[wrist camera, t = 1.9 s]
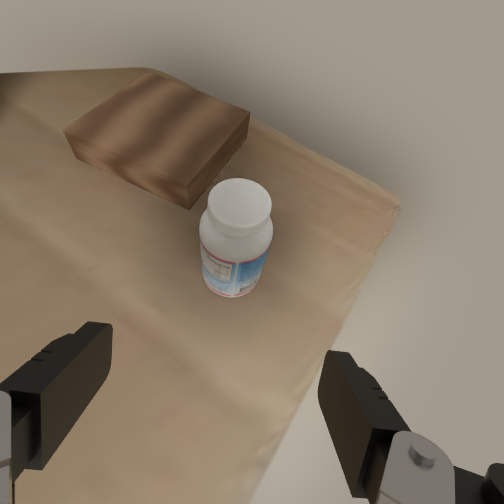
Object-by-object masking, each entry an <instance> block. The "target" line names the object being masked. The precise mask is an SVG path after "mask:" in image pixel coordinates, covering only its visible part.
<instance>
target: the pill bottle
mask: <svg viewBox="0 0 504 504" xmlns="http://www.w3.org/2000/svg"><path fill="white" fill-rule="evenodd" d="M271 207H272V203H271V198H270V196H269V194H268V192H267V191H266V190H265V189H264V188H263V187H262V186H261V185H259V184H258V183H256V182H254V181H251V180H248V179H243V178H232V179H227V180H224V181H222V182H220V183H218V184H217V185H215V186H214V187H213V188H212V190H211V191H210V193H209V196H208V207H207V209H206V210H205V211H204V213H203V215H202V217H201V220H200V225H199V235H200V249H201V263H202V274H203V278H204V281H205V283H206V284H207V286H208V287H209V288H210V289H211V290H212V291H213V292H215V293H216V294H218V295H221V296H224V297H239V296H242V295H245V294H247V293H248V292H250V291H251V290H252V289H253V288H254V287H255V286H256V284H257V282H258V280H259V277H260V274H261V271H262V268H263V265H264V262H265V259H266V256H267V253H268V250H269V246H270V243H271V240H272V236H273V225H272V221H271V218H270V212H271Z"/></svg>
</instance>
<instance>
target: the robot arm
mask: <svg viewBox="0 0 504 504" xmlns="http://www.w3.org/2000/svg"><path fill="white" fill-rule="evenodd" d="M112 334H113V328H112V325H111V324H108V323H99V322H91V321H89V322H87V323H85V324H84V325H83V326H82V327H81V328H80V329H79V330H77V331H76V332H75V333H74V334H67V335H64V336H62V337H60V338H58V339H56V340H53V341H52V342H51V343H49V344H48V345H47V346H46V347H45V348H43V349H42V350H41V352H38V353H37V354H36V355H35V356H34V357H32V358H31V360H30V361H27V362H26V363H25V364H24V365H23V366H21V367H20V368H19V369H18V370H16V371H15V372H14V373H13V374H11V375H10V376H9V377H8V378H7V379H5V380H4V381H3V382H2V383H0V504H15V480H16V479H17V478H18V477H19V475H20V474H21V473H22V471H23V470H24V469H33V470H43V468H44V467H45V465H46V464H47V462H48V461H49V460H50V458H51V457H52V455H53V454H54V453H55V451H56V450H57V448H58V447H59V445H60V444H61V443H62V441H63V440H64V438H65V437H66V435H67V434H68V433H69V431H70V430H71V428H72V427H73V426H74V424H75V423H76V421H77V420H78V418H79V417H80V416H81V414H82V413H83V411H84V410H85V408H86V407H87V406H88V404H89V403H90V401H91V400H92V399H93V397H94V396H95V394H96V393H97V391H98V390H99V389H100V387H101V386H102V384H103V383H104V381H105V380H106V378H107V376H108V373H109V370H110V367H111V357H112ZM318 400H319V404H320V407H321V410H322V413H323V416H324V419H325V421H326V424H327V427H328V430H329V433H330V435H331V438H332V441H333V444H334V447H335V450H336V453H337V455H338V458H339V461H340V464H341V467H342V469H343V472H344V475H345V478H346V481H347V484H348V486H349V489H350V492H351V495H352V497H355V498H367V499H368V501H369V503H370V504H504V464H500V463H494V464H492V465H490V466H489V468H488V470H487V473H486V475H485V477H483V476H480V475H478V474H475V473H472V472H469V471H467V470H464V469H461V468H458V467H456V466H453V464H452V463H451V461H450V459H449V458H448V456H447V455H446V454H445V453H444V452H443V451H442V450H441V449H440V448H439V447H438V446H437V445H436V444H434V443H433V442H432V441H430V440H429V439H427V438H425V437H423V436H421V435H419V434H416V433H414V432H412V431H411V430H410V429H409V427H408V426H407V424H406V423H405V421H404V420H403V418H402V417H401V416H400V414H399V413H398V411H397V410H396V408H395V407H394V406H393V404H392V403H391V401H390V400H388V397H387V395H386V394H385V392H384V391H382V388H381V387H380V385H379V384H378V382H377V381H376V380H375V378H374V377H373V376H372V375H370V374H369V373H368V372H367V371H366V370H365V369H363V368H360V367H358V366H357V364H356V362H355V361H354V359H353V358H352V356H351V355H350V354H349V353H348V352H340V351H332V350H328V351H327V353H326V355H325V360H324V364H323V368H322V372H321V377H320V381H319V386H318Z"/></svg>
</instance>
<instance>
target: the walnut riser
mask: <svg viewBox="0 0 504 504" xmlns="http://www.w3.org/2000/svg"><path fill="white" fill-rule="evenodd" d="M249 117H250V112H249V111H246V110H244V109H241V108H239V107H236V106H233V105H231V104H229V103H226V102H223V101H221V100H219V99H216V98H214V97H211V96H209V95H206V94H204V93H201V92H199V91H196V90H194V89H191V88H189V87H186V86H184V85H181V84H179V83H176V82H174V81H171V80H169V79H166V78H164V77H161V76H159V75H156V74H154V73H151V72H148V73H146V74H145V75H143V76H142V77H140V78H139V79H137V80H136V81H134V82H133V83H131V84H130V85H128V86H127V87H125V88H124V89H122V90H121V91H119V92H118V93H117V94H115V95H114V96H112V97H111V98H109V99H108V100H106V101H105V102H103V103H102V104H100V105H99V106H97V107H96V108H94V109H93V110H91V111H90V112H88V113H87V114H85V115H84V116H83V117H81V118H80V119H78V120H77V121H75V122H74V123H72V124H71V125H69V126H68V127H66V128H65V129H63V132H64V134H65V136H66V138H67V140H68V142H69V144H70V146H71V148H72V150H73V152H74V154H75V156H76V158H77V159H79V160H81V161H83V162H86V163H88V164H90V165H92V166H94V167H97V168H99V169H101V170H103V171H105V172H107V173H110V174H112V175H114V176H116V177H118V178H121V179H123V180H125V181H127V182H129V183H131V184H134V185H136V186H138V187H140V188H142V189H145V190H147V191H149V192H151V193H153V194H156V195H158V196H160V197H162V198H164V199H166V200H169V201H171V202H173V203H175V204H177V205H180V206H182V207H184V208H186V209H188V210H190V208H191V207H192V206H193V204H194V203H195V202H196V201H197V199H198V198H199V197H200V196H201V194H202V193H203V192H204V191H205V189H206V188H207V187H208V186H209V184H210V183H211V182H212V181H213V179H214V178H215V177H216V176H217V174H218V173H219V172H220V171H221V169H222V168H223V167H224V165H225V164H226V163H227V162H228V160H229V159H230V158H231V157H232V155H233V154H234V153H235V152H236V150H237V149H238V148H239V147H240V145H241V144H242V143H243V142H244V140H245V139H246V138H247V132H248V124H249Z"/></svg>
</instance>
